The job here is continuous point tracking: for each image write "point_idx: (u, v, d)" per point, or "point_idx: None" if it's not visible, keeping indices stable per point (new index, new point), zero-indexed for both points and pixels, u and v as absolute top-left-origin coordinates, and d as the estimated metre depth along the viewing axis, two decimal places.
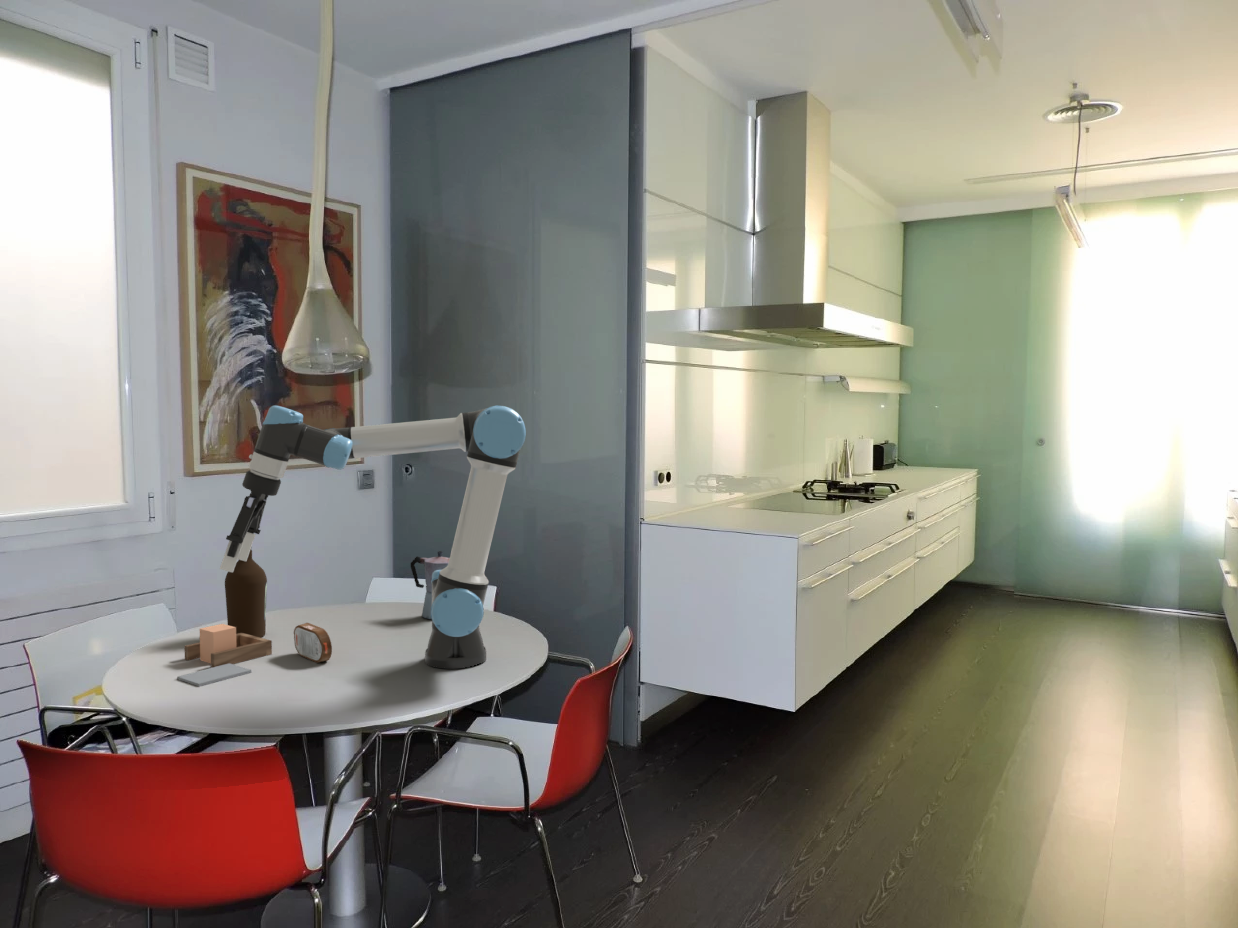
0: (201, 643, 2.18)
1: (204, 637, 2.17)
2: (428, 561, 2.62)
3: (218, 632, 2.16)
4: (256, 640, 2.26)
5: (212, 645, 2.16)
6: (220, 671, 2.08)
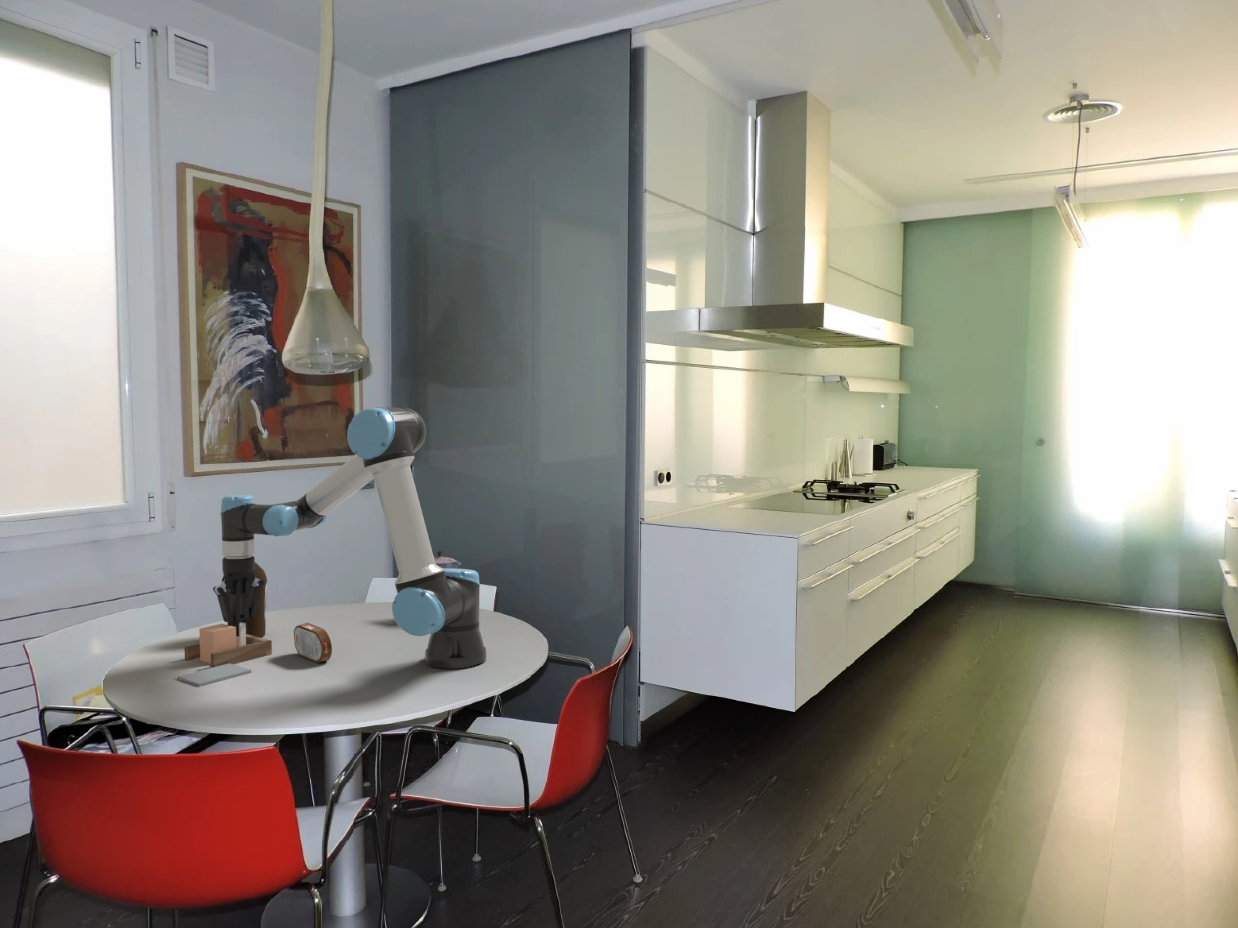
0: (201, 643, 2.18)
1: (204, 637, 2.17)
2: None
3: (218, 632, 2.16)
4: (256, 640, 2.26)
5: (212, 645, 2.16)
6: (220, 671, 2.08)
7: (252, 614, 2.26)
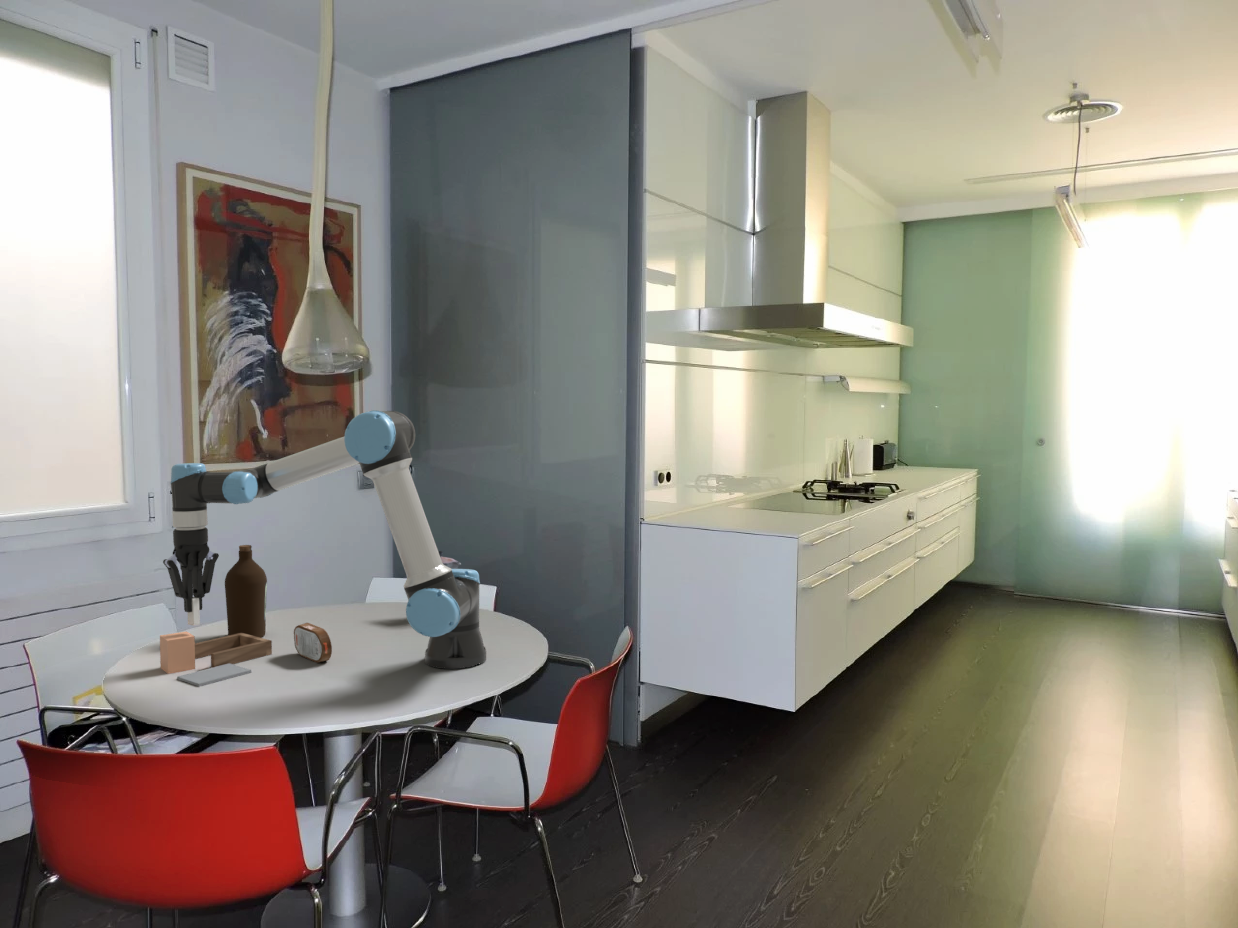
0: (160, 650, 2.12)
1: (162, 644, 2.10)
2: None
3: (173, 640, 2.08)
4: (256, 640, 2.26)
5: (167, 654, 2.08)
6: (220, 671, 2.08)
7: (206, 589, 2.15)
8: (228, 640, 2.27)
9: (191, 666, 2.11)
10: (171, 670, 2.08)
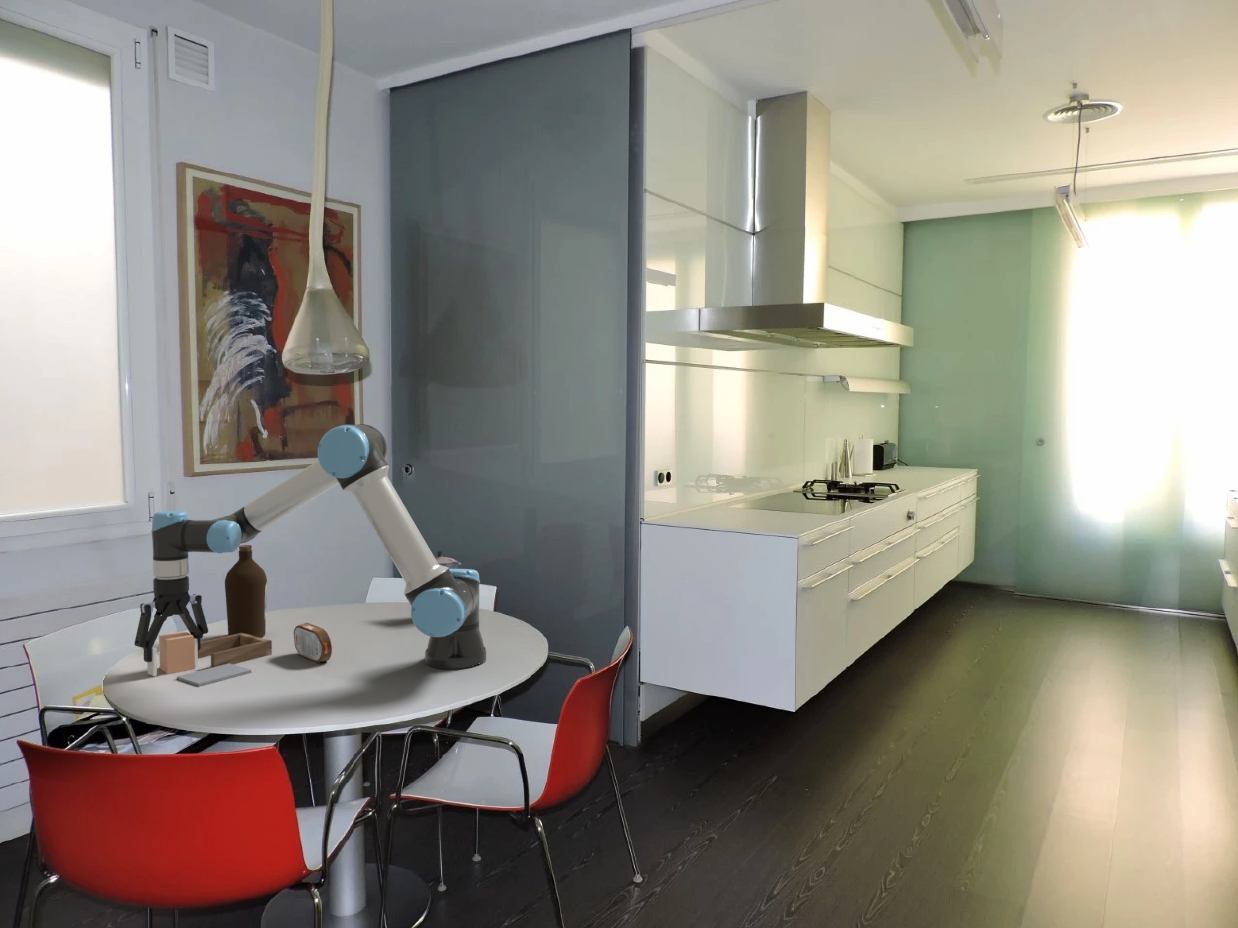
0: (160, 650, 2.11)
1: (162, 644, 2.10)
2: None
3: (172, 640, 2.08)
4: (256, 640, 2.26)
5: (166, 654, 2.08)
6: (220, 671, 2.08)
7: (204, 630, 2.15)
8: (228, 640, 2.27)
9: (190, 666, 2.11)
10: (170, 670, 2.08)
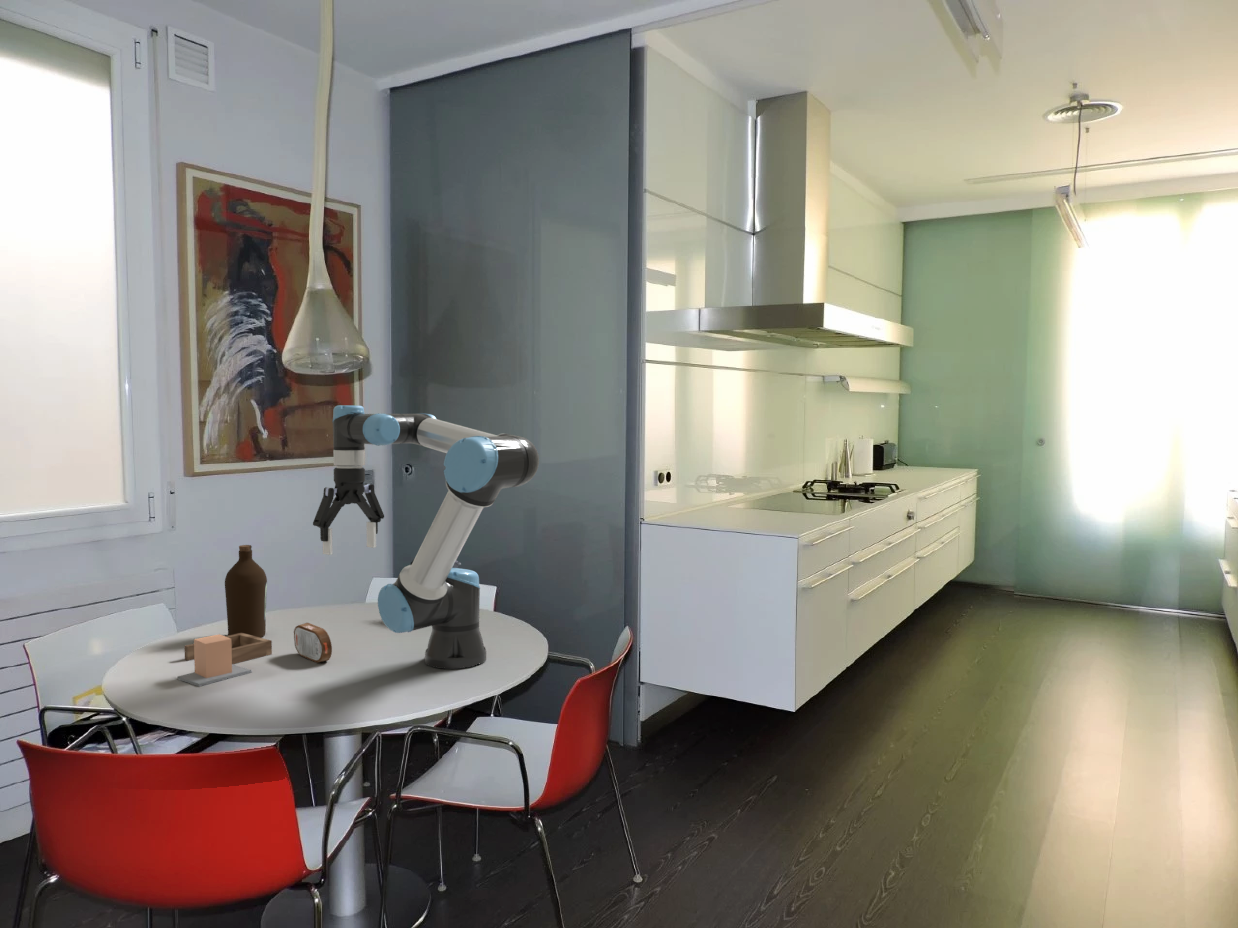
0: (195, 654, 2.06)
1: (198, 648, 2.05)
2: None
3: (211, 644, 2.03)
4: (256, 640, 2.26)
5: (204, 657, 2.03)
6: None
7: (381, 516, 2.30)
8: None
9: (228, 670, 2.07)
10: (209, 674, 2.03)
